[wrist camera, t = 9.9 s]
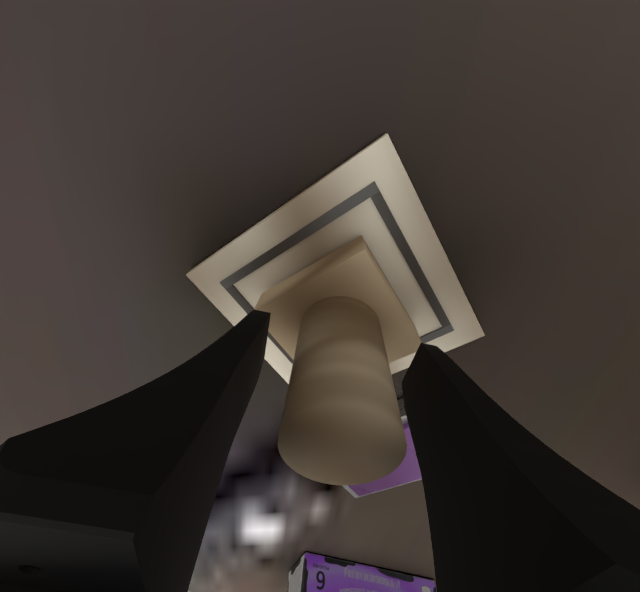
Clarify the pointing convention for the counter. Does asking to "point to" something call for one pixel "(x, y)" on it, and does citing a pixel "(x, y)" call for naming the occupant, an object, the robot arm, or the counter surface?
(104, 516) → the robot arm
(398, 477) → the ink pad
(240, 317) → the board
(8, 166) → the counter surface
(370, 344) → the stamp
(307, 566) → the candy box
